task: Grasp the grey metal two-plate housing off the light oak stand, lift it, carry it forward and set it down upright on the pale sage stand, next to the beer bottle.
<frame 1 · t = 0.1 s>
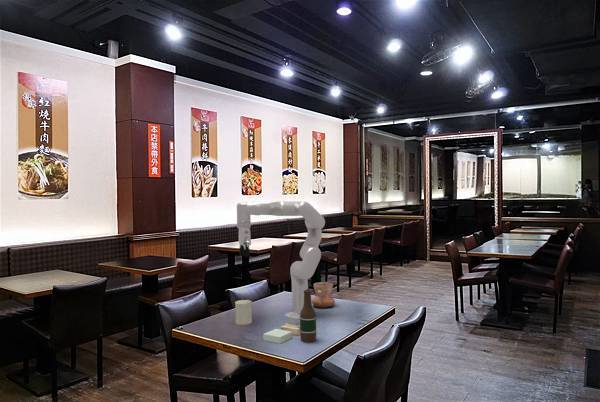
hand: (244, 255, 241), 37 cm above the table, tool pointing down, fingers open, 9 cm apart
housing: (294, 325, 222), point 3 cm above the table, touching stand a
stand b: (277, 338, 210), on the table
stand a: (294, 331, 222), on the table
ceramic jug: (323, 306, 274), on the table
beer bottle: (308, 340, 208), on the table
can: (243, 322, 240), on the table
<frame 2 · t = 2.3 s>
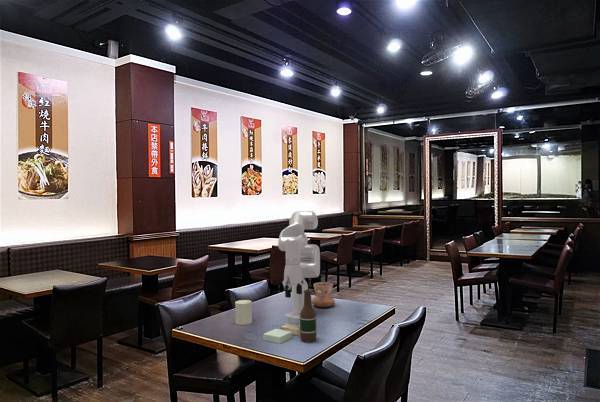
hand: (293, 295, 221), 18 cm above the table, tool pointing down, fingers open, 9 cm apart
nothing on the table moved.
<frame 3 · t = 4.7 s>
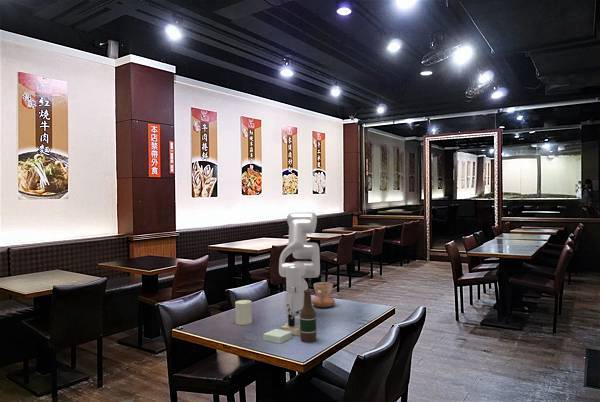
hand: (294, 324, 222), 4 cm above the table, tool pointing down, fingers closed on housing, 5 cm apart
housing: (294, 325, 222), point 3 cm above the table, touching gripper, stand a
everything else where it was.
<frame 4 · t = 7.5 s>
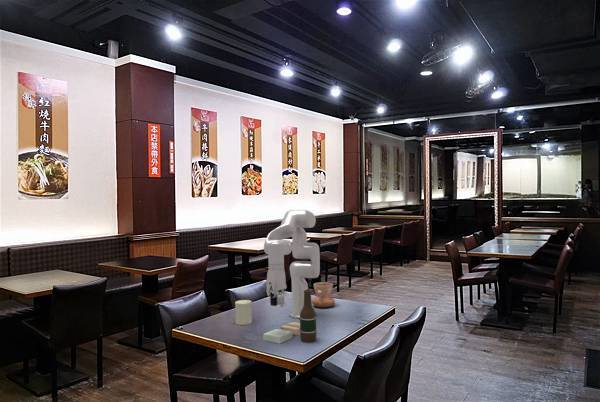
hand: (277, 304, 210), 17 cm above the table, tool pointing down, fingers closed on housing, 5 cm apart
housing: (277, 305, 210), point 16 cm above the table, touching gripper
everything else where it was.
when the fingers open (5 cm above the table, at t = 10.3 s): housing drops 1 cm, resting on stand b.
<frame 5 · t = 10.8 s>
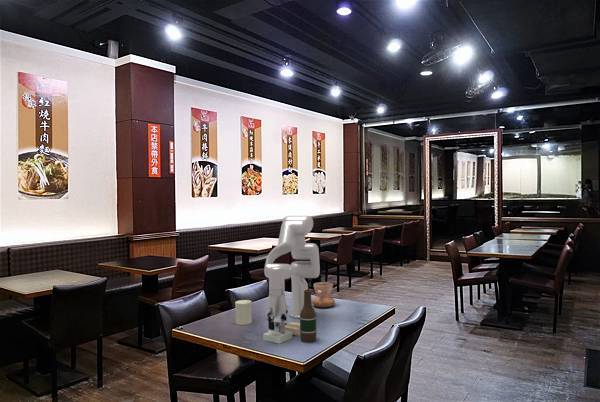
hand: (277, 327, 210), 6 cm above the table, tool pointing down, fingers open, 9 cm apart
housing: (278, 332, 210), point 3 cm above the table, touching stand b
everything else where it was.
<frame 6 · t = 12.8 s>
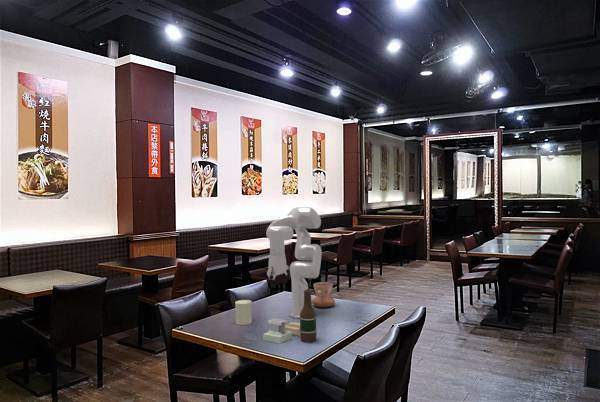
hand: (278, 285, 222), 24 cm above the table, tool pointing down, fingers open, 9 cm apart
nothing on the table moved.
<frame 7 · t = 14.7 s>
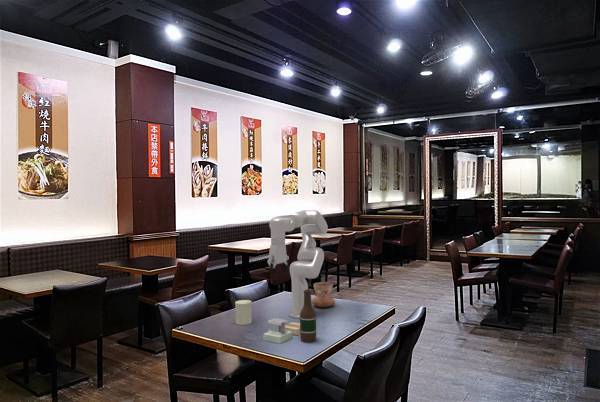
hand: (278, 274, 230), 28 cm above the table, tool pointing down, fingers open, 9 cm apart
nothing on the table moved.
at the end: housing 0.2 cm off-centre on the stand b, point 3.0 cm above the stand b's base; housing tilted 0°; the gripper is holding nothing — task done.
